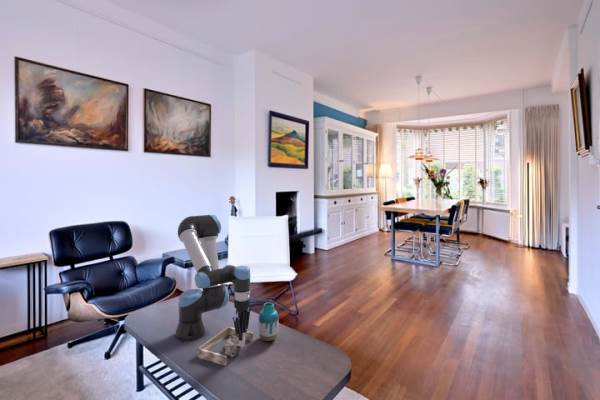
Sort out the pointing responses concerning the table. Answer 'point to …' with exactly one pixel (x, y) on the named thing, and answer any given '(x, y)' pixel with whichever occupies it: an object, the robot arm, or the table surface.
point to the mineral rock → (232, 346)
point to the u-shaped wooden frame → (212, 356)
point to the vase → (268, 322)
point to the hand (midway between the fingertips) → (241, 345)
